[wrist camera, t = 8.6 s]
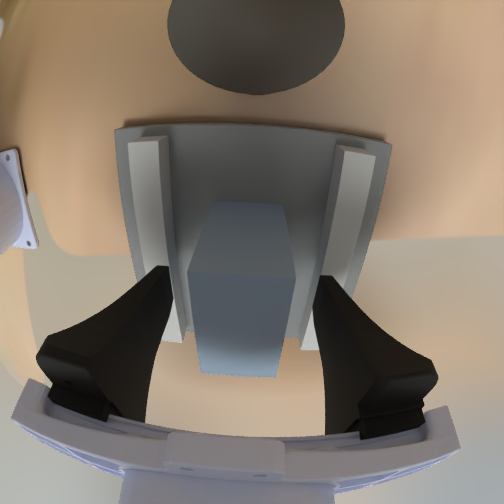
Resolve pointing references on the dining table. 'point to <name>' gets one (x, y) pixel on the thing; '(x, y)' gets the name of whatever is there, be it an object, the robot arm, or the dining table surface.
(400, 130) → the dining table surface
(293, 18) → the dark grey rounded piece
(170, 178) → the grey railed square plate
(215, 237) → the blue-grey block
